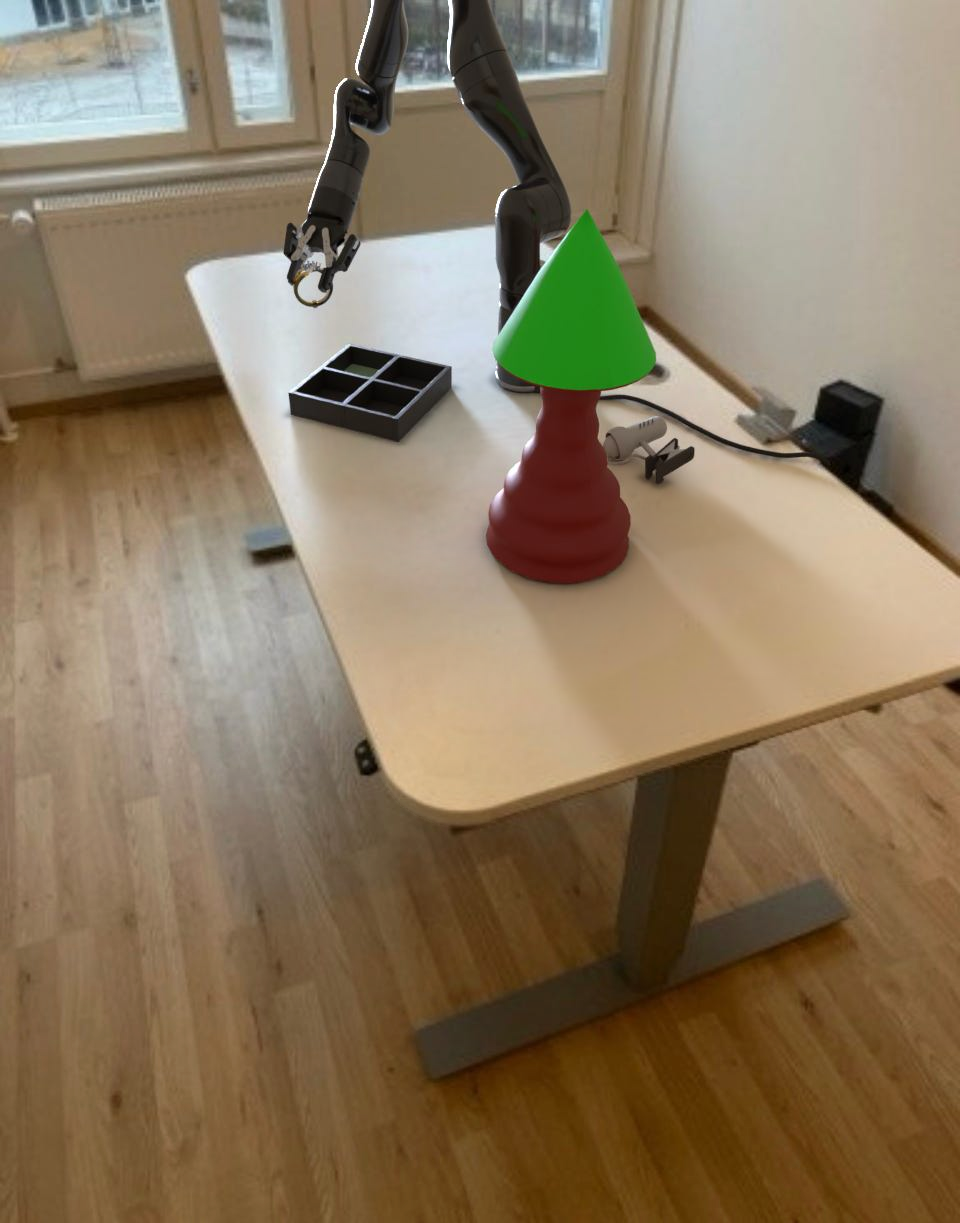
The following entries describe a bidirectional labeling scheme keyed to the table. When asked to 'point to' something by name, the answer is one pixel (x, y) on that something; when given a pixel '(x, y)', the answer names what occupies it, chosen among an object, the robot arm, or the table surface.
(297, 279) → the ring
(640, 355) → the table lamp
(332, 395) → the organizer
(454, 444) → the table surface
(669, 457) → the clip-on lamp
